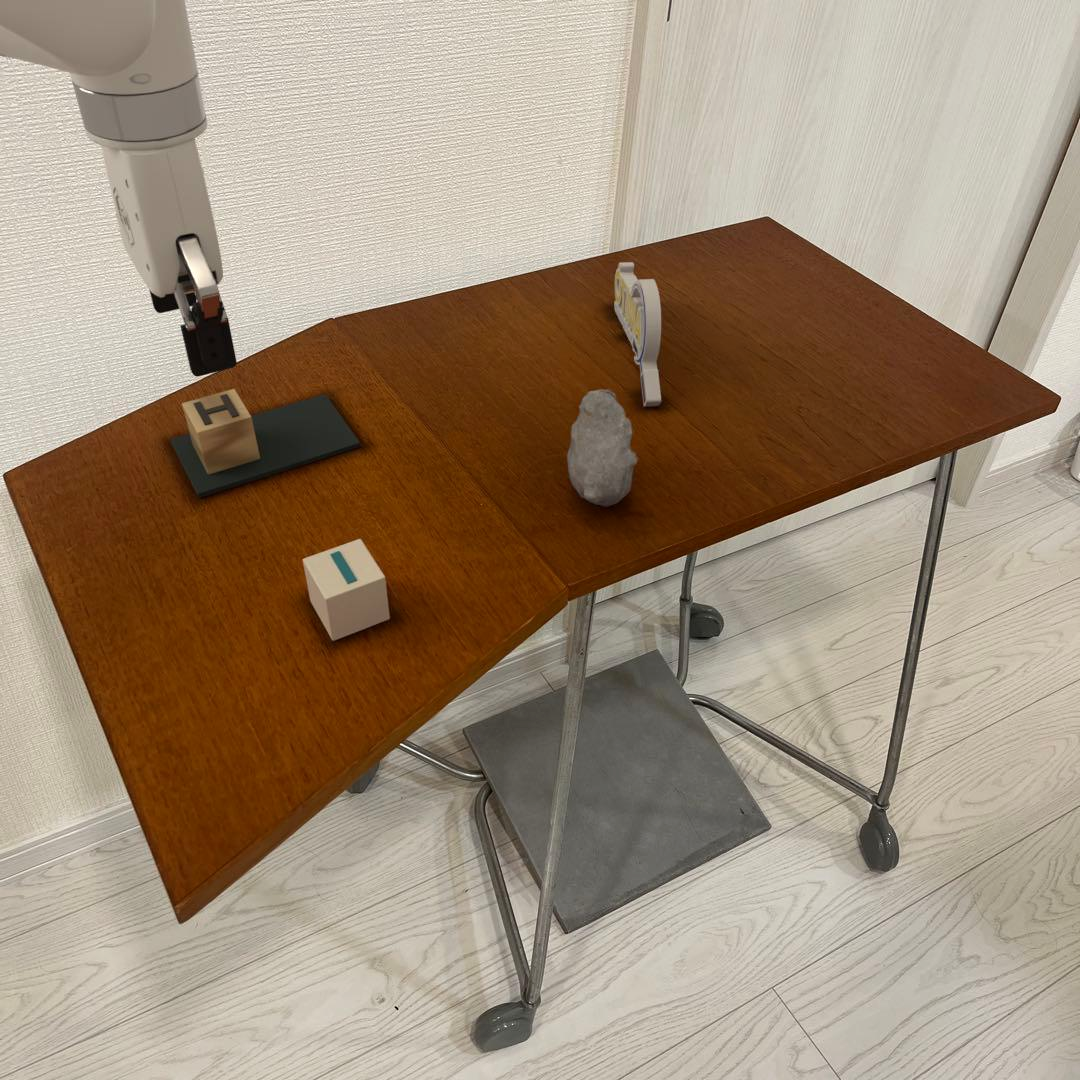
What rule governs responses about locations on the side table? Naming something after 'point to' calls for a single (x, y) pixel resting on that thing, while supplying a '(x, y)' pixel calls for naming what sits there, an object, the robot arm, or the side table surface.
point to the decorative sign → (641, 325)
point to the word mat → (275, 444)
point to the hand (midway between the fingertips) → (194, 337)
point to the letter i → (346, 589)
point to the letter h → (221, 431)
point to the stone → (601, 450)
